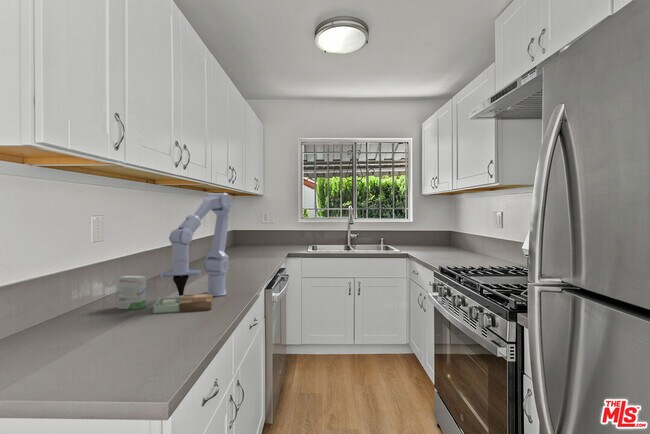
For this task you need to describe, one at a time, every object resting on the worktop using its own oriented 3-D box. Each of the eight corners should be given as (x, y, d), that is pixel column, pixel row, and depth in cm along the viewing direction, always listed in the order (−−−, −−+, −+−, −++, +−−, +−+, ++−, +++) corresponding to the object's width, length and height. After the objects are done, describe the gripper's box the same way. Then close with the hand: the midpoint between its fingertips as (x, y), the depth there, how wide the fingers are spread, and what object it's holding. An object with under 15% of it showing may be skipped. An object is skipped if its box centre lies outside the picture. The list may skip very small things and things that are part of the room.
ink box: (117, 309, 136) (116, 277, 136) (126, 305, 141) (125, 274, 141) (139, 309, 135) (138, 278, 135) (147, 306, 140) (146, 275, 140)
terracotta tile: (194, 298, 139) (194, 294, 139) (207, 298, 140) (207, 294, 140) (193, 301, 135) (193, 297, 135) (206, 301, 136) (206, 296, 136)
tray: (159, 304, 143) (159, 298, 143) (183, 302, 145) (183, 296, 145) (152, 313, 130) (152, 306, 130) (179, 311, 133) (179, 305, 133)
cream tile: (176, 299, 143) (176, 303, 143) (164, 299, 142) (164, 303, 142) (174, 301, 139) (174, 306, 139) (161, 302, 138) (161, 306, 138)
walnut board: (183, 302, 145) (183, 295, 145) (212, 300, 148) (212, 293, 148) (179, 311, 133) (179, 303, 133) (211, 309, 135) (211, 301, 135)
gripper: (158, 262, 135) (159, 298, 136) (199, 260, 139) (200, 296, 139) (162, 259, 142) (162, 294, 143) (201, 258, 146) (201, 292, 146)
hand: (181, 295), depth 142 cm, fingers closed
